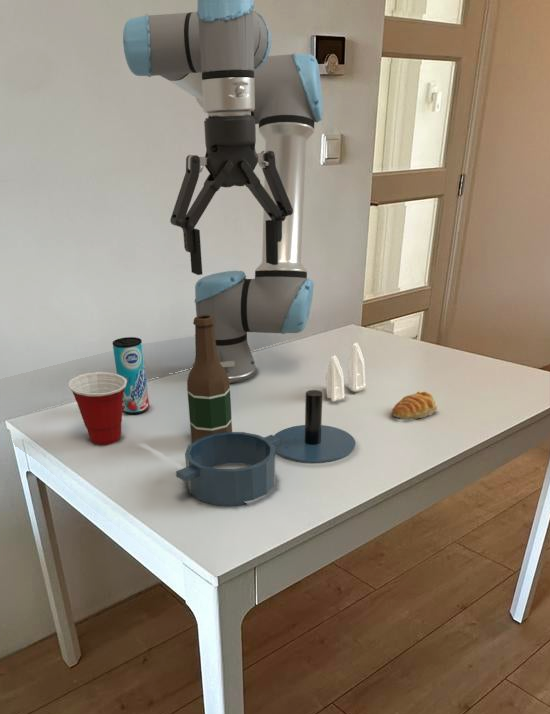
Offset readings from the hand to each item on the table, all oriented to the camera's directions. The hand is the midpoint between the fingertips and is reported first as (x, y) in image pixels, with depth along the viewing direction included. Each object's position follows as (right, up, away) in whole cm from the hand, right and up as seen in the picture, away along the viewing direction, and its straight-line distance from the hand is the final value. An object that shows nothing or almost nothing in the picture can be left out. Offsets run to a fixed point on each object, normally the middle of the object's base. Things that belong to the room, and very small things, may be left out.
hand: (235, 268), depth 103 cm
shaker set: (+24, -14, +37) cm, 46 cm away
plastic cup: (-25, -26, +21) cm, 42 cm away
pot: (-1, -35, +4) cm, 35 cm away
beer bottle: (-5, -27, +17) cm, 32 cm away
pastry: (+36, -20, +26) cm, 49 cm away
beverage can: (-22, -18, +33) cm, 44 cm away
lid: (+14, -27, +14) cm, 34 cm away
